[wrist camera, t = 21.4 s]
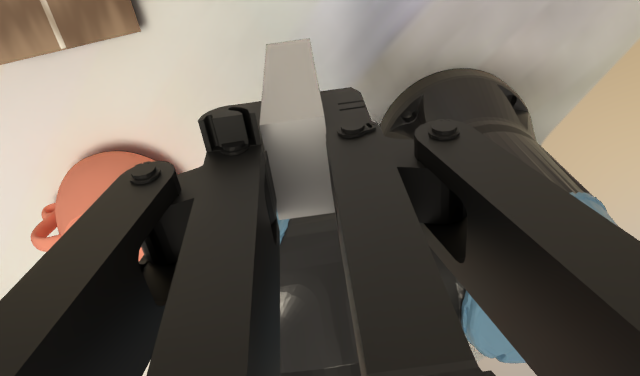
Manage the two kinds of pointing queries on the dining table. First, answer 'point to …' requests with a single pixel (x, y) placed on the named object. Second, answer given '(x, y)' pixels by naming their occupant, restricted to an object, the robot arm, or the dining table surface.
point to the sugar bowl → (82, 193)
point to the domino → (60, 25)
